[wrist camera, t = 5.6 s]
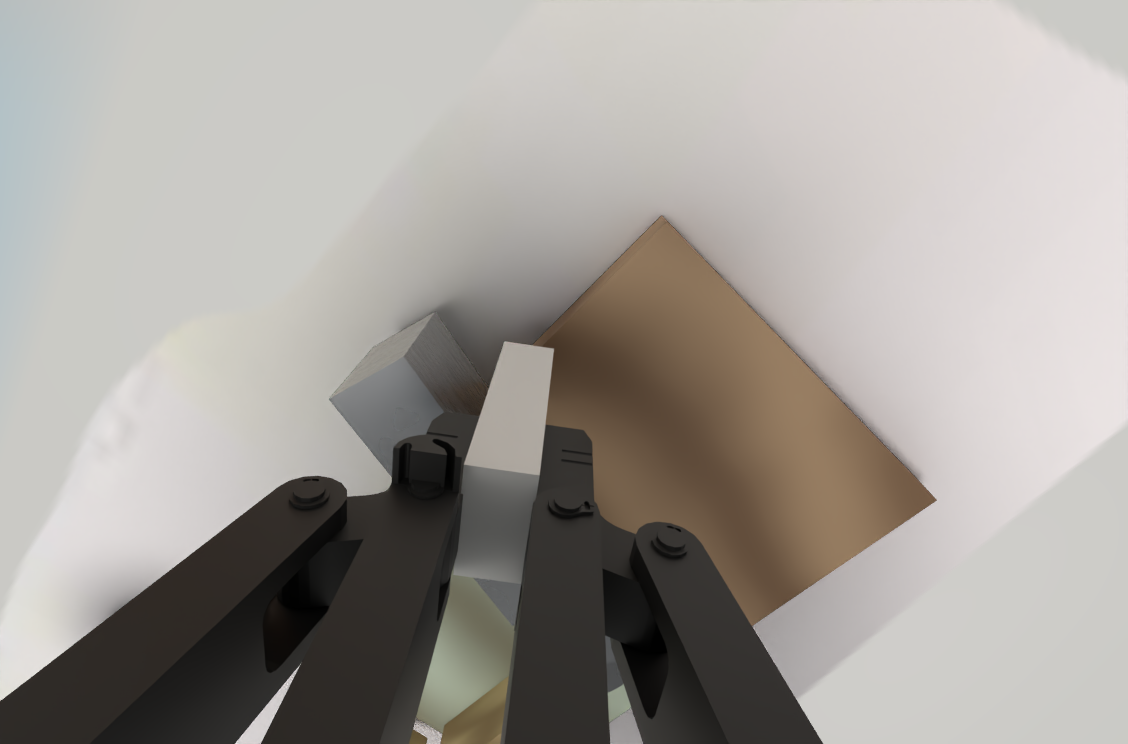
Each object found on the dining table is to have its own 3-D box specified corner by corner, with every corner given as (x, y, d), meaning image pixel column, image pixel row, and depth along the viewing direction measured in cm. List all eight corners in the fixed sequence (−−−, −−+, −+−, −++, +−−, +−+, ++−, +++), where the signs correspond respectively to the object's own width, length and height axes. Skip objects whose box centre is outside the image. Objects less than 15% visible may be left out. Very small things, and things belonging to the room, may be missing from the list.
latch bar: (649, 585, 23) (662, 671, 19) (558, 623, 24) (555, 712, 20) (457, 298, 18) (429, 342, 15) (354, 357, 19) (305, 412, 16)
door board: (497, 774, 30) (487, 861, 26) (252, 625, 26) (203, 702, 23) (919, 481, 22) (980, 547, 19) (661, 215, 19) (680, 238, 15)
